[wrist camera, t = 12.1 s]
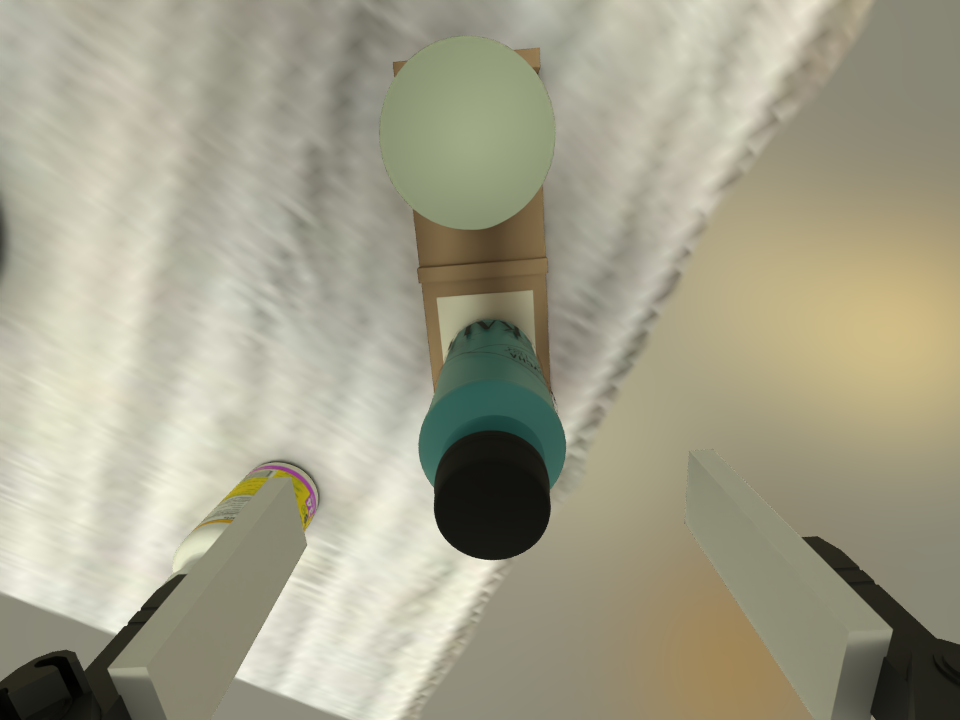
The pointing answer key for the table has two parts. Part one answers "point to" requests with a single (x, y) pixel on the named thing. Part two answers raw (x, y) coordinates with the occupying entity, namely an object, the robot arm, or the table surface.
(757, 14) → the table surface
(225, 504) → the supplement bottle
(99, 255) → the table surface
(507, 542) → the beverage bottle
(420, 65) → the sage canister
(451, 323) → the wooden tray
